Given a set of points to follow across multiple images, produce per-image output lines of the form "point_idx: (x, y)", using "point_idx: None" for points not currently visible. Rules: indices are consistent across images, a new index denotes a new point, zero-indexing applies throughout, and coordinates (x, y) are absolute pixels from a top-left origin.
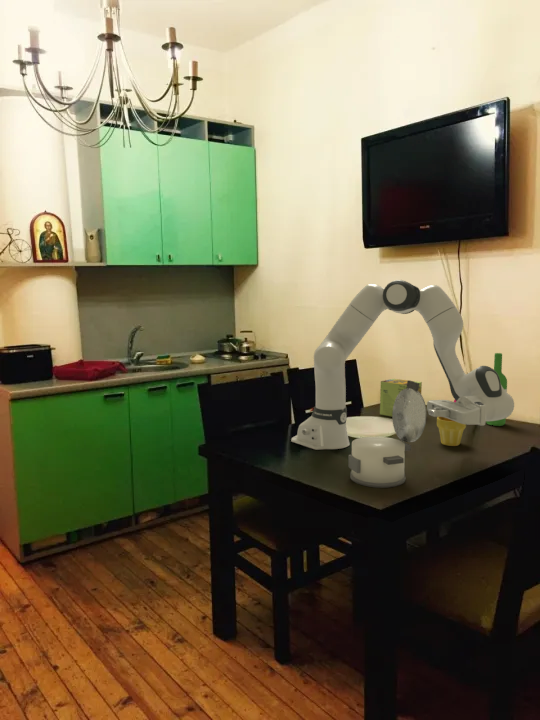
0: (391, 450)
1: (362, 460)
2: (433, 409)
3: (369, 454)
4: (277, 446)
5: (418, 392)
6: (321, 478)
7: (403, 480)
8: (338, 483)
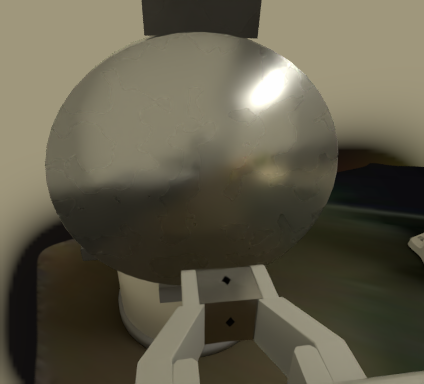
0: None
1: None
2: (256, 289)
3: None
4: (408, 206)
5: (132, 44)
6: None
7: (129, 328)
8: None
